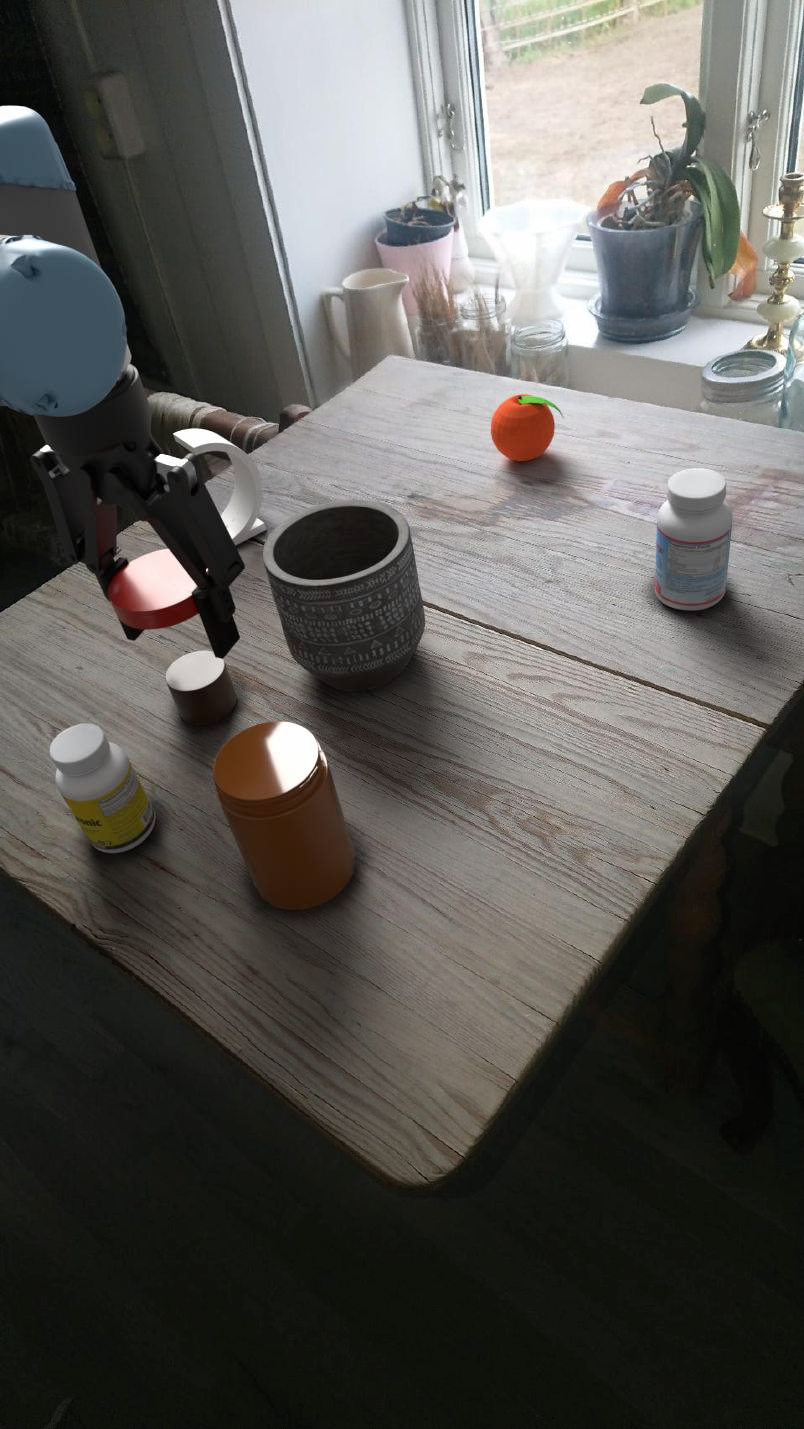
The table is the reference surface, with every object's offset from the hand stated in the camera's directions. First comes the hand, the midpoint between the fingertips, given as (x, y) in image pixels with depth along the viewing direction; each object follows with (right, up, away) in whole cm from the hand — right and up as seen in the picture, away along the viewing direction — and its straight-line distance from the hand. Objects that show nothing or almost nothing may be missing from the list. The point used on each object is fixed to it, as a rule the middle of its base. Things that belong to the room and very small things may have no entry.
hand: (183, 638), depth 81 cm
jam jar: (+11, -17, -10) cm, 23 cm away
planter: (+15, -2, +6) cm, 16 cm away
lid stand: (+1, -5, +5) cm, 7 cm away
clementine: (+32, +22, +27) cm, 48 cm away
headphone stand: (+1, +14, +25) cm, 29 cm away
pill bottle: (+44, +4, +6) cm, 44 cm away
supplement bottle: (-4, -15, -4) cm, 16 cm away
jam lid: (-1, +4, -4) cm, 6 cm away
